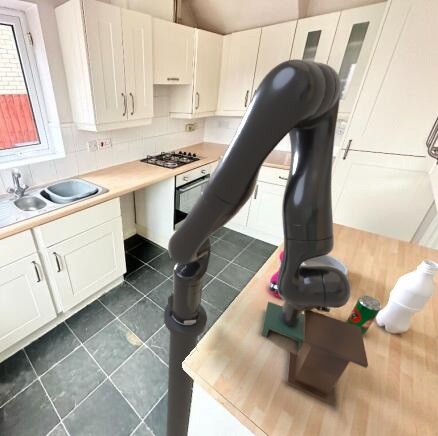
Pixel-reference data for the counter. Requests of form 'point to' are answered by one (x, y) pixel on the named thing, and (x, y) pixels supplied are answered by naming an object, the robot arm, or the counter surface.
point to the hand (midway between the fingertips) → (295, 298)
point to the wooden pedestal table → (324, 355)
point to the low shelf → (282, 324)
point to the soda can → (364, 312)
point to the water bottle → (408, 298)
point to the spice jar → (289, 315)
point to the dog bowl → (327, 262)
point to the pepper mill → (275, 276)
